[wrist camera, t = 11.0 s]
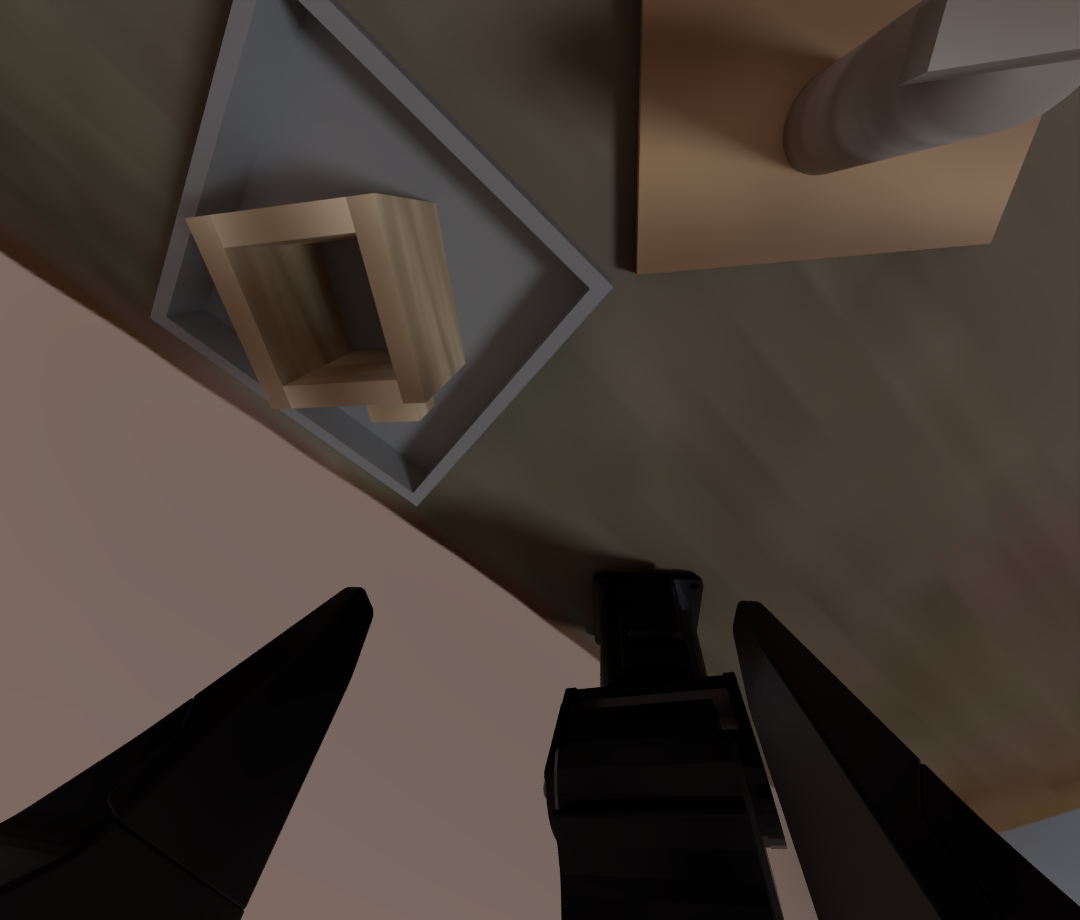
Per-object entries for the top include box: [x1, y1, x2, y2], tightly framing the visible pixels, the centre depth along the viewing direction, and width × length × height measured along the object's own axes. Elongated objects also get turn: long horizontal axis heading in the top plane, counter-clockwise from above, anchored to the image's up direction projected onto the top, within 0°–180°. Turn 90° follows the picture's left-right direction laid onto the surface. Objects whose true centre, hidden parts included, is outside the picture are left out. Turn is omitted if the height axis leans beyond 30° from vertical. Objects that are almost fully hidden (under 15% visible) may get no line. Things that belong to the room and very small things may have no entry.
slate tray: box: [150, 0, 613, 506], centre depth 17 cm, size 14×14×2 cm
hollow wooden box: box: [185, 193, 466, 423], centre depth 16 cm, size 6×8×5 cm
